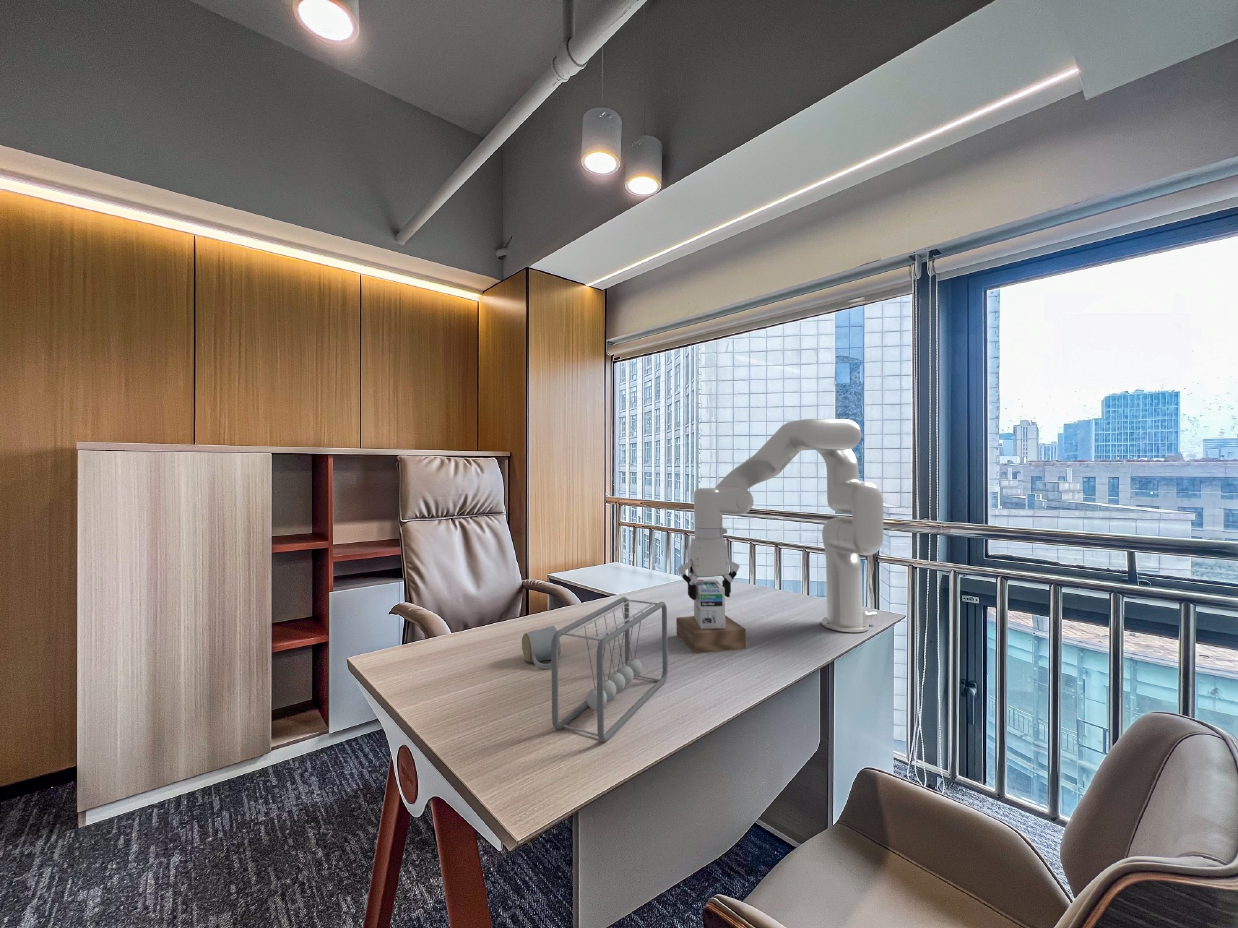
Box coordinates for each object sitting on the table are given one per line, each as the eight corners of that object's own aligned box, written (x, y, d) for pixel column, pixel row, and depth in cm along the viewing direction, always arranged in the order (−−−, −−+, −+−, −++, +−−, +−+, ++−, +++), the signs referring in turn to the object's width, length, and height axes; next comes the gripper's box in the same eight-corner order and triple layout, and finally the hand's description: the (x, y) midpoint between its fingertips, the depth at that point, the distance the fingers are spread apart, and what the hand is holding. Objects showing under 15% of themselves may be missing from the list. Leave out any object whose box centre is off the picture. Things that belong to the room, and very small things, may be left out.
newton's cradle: (626, 671, 115) (625, 594, 115) (668, 679, 110) (667, 599, 110) (550, 733, 88) (549, 633, 88) (602, 748, 83) (600, 642, 83)
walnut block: (723, 631, 142) (722, 613, 142) (746, 648, 128) (745, 628, 128) (676, 635, 139) (676, 617, 139) (695, 653, 125) (694, 633, 125)
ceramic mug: (520, 657, 124) (520, 626, 124) (551, 651, 127) (551, 621, 127) (533, 673, 114) (532, 640, 114) (566, 666, 118) (566, 634, 118)
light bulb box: (726, 629, 128) (725, 587, 128) (700, 629, 128) (699, 587, 128) (717, 616, 139) (716, 578, 139) (693, 617, 139) (692, 578, 139)
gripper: (731, 530, 139) (733, 591, 139) (673, 533, 135) (674, 596, 135) (744, 534, 132) (745, 598, 132) (682, 537, 128) (684, 603, 128)
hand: (709, 597), depth 133 cm, fingers open, 9 cm apart
